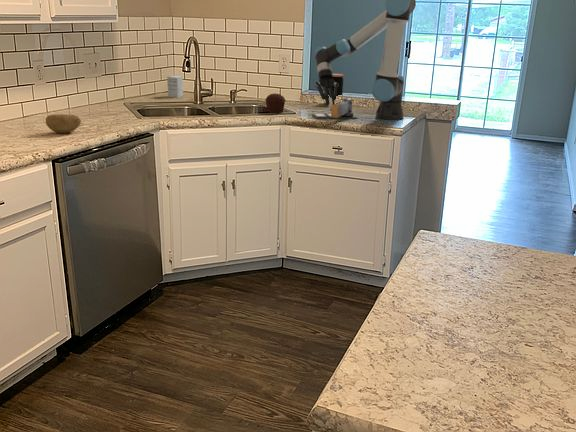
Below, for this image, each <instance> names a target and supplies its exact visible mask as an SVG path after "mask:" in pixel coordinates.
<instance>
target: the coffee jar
mask: <svg viewBox="0 0 576 432" xmlns="http://www.w3.org/2000/svg"><path fill="white" fill-rule="evenodd" d="M332 74H333V79H334V81H335V82H336V83H337V82H339V85H338V88H337V96H338V95H342V96H343V93H344V91H343V90H344V74H342V73H332ZM334 88H335V87H334V84H333V86H332V91H333V96H334ZM327 90H328V88H327ZM328 95H329V90H328Z"/></svg>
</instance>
